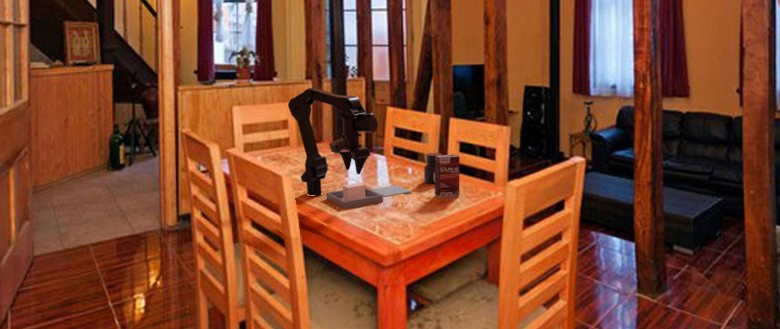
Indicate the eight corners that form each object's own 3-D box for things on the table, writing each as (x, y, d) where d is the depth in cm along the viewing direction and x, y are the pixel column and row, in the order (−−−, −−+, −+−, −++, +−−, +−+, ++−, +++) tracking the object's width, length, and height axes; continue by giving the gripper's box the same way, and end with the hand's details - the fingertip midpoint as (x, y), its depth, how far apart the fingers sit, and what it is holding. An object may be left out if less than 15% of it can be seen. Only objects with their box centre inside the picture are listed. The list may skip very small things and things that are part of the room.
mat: (370, 191, 224) (370, 189, 224) (396, 187, 229) (395, 185, 229) (384, 197, 213) (384, 195, 213) (411, 193, 219) (411, 191, 219)
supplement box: (439, 198, 210) (438, 158, 207) (434, 195, 214) (434, 155, 211) (460, 196, 212) (460, 156, 209) (455, 193, 217) (455, 153, 213)
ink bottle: (439, 185, 230) (438, 157, 228) (420, 183, 235) (419, 155, 232) (448, 180, 238) (448, 153, 236) (430, 178, 243) (430, 151, 240)
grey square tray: (326, 200, 212) (326, 192, 212) (363, 194, 220) (363, 186, 219) (344, 210, 199) (343, 202, 198) (383, 203, 206) (382, 195, 206)
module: (343, 200, 210) (342, 185, 208) (360, 197, 213) (359, 182, 212) (348, 203, 206) (347, 187, 204) (365, 200, 209) (364, 185, 208)
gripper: (321, 130, 208) (323, 170, 211) (341, 136, 192) (343, 179, 195) (348, 127, 213) (349, 166, 216) (370, 133, 197) (371, 175, 201)
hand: (352, 172), depth 207 cm, fingers open, 9 cm apart
